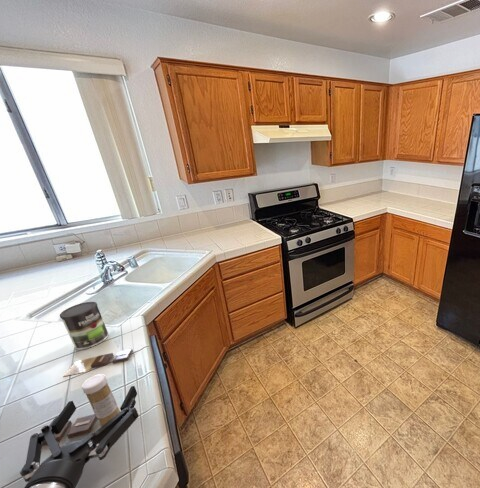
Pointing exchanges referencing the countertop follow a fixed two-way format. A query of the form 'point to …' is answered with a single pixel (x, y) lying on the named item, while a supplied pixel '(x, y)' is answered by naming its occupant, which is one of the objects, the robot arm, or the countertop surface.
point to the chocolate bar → (97, 362)
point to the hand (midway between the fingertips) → (104, 397)
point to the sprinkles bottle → (100, 398)
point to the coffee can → (84, 325)
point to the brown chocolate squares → (76, 427)
